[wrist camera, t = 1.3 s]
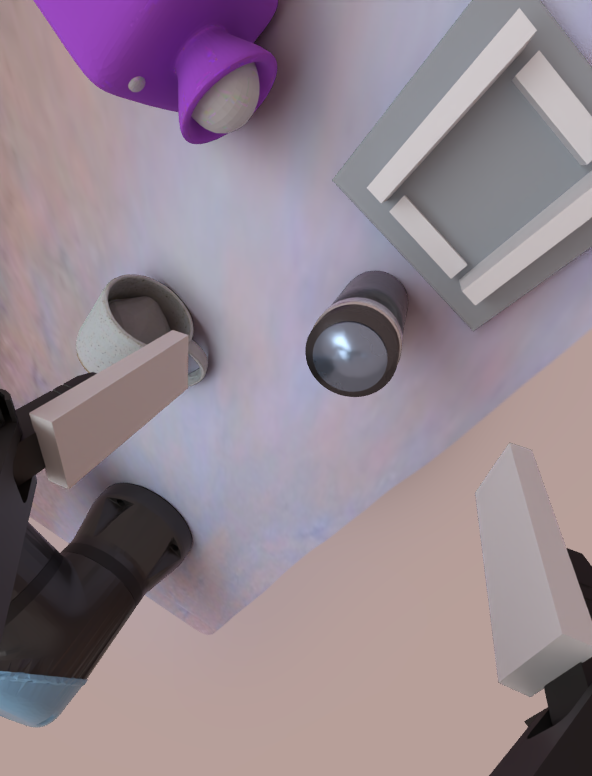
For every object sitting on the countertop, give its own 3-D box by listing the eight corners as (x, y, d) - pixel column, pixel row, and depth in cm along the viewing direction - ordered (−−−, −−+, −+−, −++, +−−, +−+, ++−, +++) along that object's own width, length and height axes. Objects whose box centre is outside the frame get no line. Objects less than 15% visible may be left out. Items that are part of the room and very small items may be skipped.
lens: (372, 348, 29) (348, 416, 21) (327, 303, 29) (283, 354, 20) (424, 305, 27) (421, 363, 18) (375, 254, 26) (349, 289, 17)
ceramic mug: (111, 316, 37) (45, 346, 30) (150, 264, 32) (83, 286, 26) (185, 393, 39) (138, 436, 32) (231, 353, 34) (187, 394, 28)
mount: (471, 325, 26) (477, 347, 23) (336, 180, 24) (320, 180, 21) (668, 182, 20) (719, 182, 16) (501, -31, 18) (518, -82, 14)
